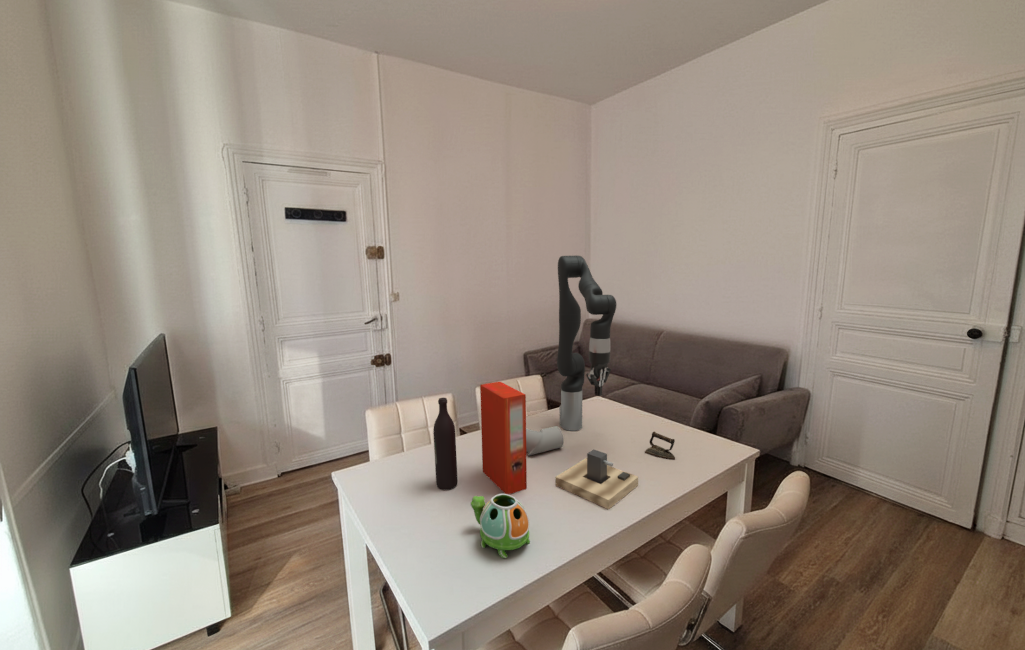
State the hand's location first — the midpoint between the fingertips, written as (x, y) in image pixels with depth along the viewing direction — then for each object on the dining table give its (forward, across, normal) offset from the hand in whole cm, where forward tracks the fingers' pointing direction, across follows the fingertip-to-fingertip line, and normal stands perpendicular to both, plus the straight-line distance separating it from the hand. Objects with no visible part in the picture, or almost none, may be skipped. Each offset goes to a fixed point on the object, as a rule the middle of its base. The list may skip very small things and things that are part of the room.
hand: (598, 395), depth 152 cm
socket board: (+23, +18, +12) cm, 32 cm away
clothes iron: (+24, -16, +18) cm, 34 cm away
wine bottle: (+24, +52, -24) cm, 62 cm away
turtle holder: (+24, +58, +9) cm, 64 cm away
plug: (+22, +18, +14) cm, 32 cm away
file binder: (+24, +37, -12) cm, 46 cm away
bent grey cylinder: (+25, +12, -22) cm, 35 cm away
